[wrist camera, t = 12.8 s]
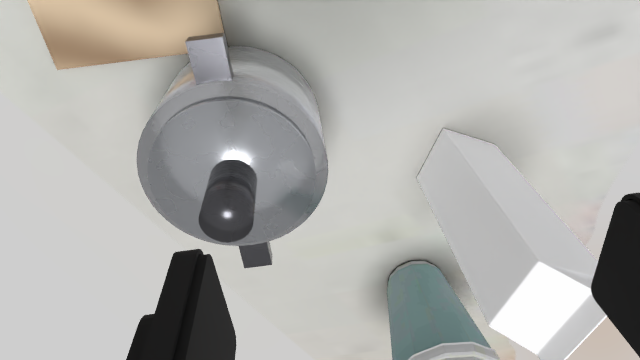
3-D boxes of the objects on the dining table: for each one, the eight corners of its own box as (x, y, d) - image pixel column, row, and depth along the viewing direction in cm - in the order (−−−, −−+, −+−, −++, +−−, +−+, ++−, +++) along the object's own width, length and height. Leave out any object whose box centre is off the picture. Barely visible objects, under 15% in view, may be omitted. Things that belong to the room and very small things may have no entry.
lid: (127, 108, 30) (95, 150, 25) (304, 85, 30) (308, 122, 25) (177, 245, 36) (160, 300, 31) (323, 225, 36) (329, 277, 31)
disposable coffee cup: (454, 237, 50) (512, 350, 37) (461, 301, 56) (514, 419, 43) (362, 259, 51) (388, 377, 38) (378, 320, 56) (406, 441, 44)
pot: (132, 22, 36) (91, 55, 28) (306, 0, 36) (313, 27, 28) (194, 217, 46) (177, 280, 38) (329, 200, 46) (338, 260, 38)
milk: (415, 177, 46) (505, 369, 27) (442, 126, 43) (565, 300, 24) (467, 192, 47) (587, 384, 28) (497, 143, 44) (653, 320, 25)
